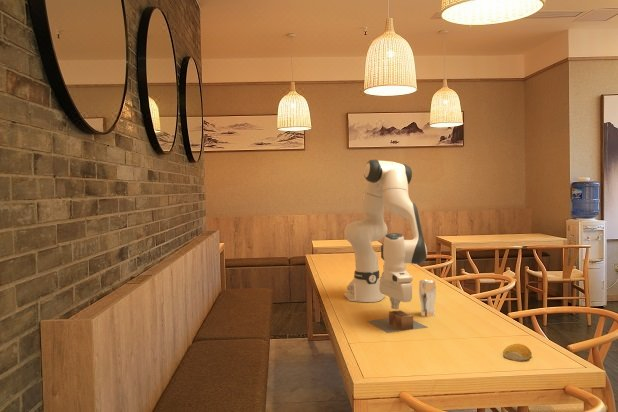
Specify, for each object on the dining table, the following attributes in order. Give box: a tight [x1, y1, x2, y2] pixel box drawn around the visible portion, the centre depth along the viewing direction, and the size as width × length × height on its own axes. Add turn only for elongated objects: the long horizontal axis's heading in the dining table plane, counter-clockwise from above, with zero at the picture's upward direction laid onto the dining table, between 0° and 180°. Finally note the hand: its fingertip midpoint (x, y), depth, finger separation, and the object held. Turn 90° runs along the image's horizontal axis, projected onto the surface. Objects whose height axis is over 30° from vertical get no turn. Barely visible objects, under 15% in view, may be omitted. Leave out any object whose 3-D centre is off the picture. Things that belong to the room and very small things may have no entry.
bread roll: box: [502, 343, 533, 362], centre depth 166 cm, size 8×9×4 cm
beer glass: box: [418, 279, 437, 318], centre depth 217 cm, size 7×7×15 cm
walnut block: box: [388, 309, 414, 331], centre depth 201 cm, size 5×5×10 cm
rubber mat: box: [366, 317, 429, 334], centre depth 204 cm, size 18×18×1 cm
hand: (395, 308), depth 205 cm, fingers closed
